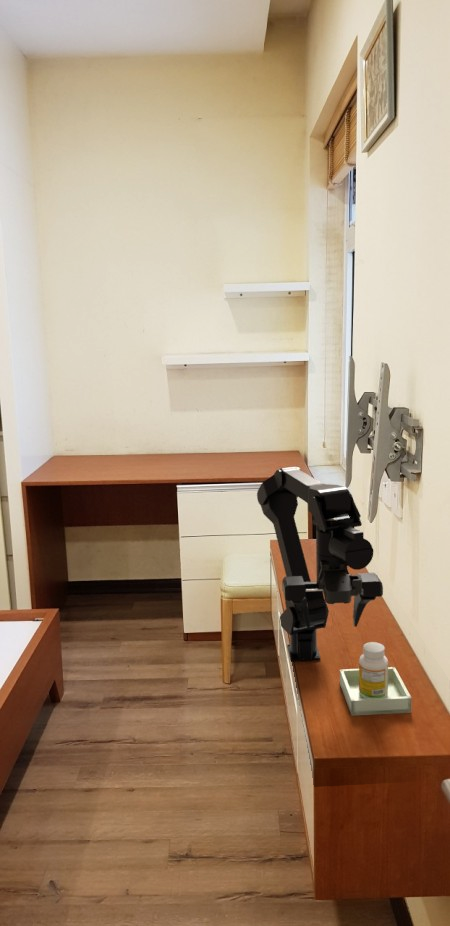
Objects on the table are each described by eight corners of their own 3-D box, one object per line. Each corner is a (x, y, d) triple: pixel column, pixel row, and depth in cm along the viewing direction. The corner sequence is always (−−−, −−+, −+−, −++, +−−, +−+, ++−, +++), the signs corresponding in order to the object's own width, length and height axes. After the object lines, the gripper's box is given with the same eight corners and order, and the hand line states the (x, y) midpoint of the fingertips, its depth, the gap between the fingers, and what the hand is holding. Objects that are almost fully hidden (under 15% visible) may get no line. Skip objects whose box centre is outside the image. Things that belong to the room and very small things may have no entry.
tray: (339, 683, 132) (339, 669, 132) (394, 680, 132) (394, 666, 132) (351, 715, 122) (351, 701, 121) (411, 712, 122) (411, 698, 121)
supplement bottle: (367, 682, 131) (367, 637, 128) (392, 691, 127) (393, 645, 125) (353, 695, 127) (354, 648, 124) (379, 704, 123) (380, 657, 121)
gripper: (287, 569, 119) (289, 649, 122) (391, 564, 119) (390, 644, 122) (280, 548, 130) (282, 622, 133) (375, 544, 130) (375, 617, 133)
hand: (331, 627), depth 130 cm, fingers open, 9 cm apart
